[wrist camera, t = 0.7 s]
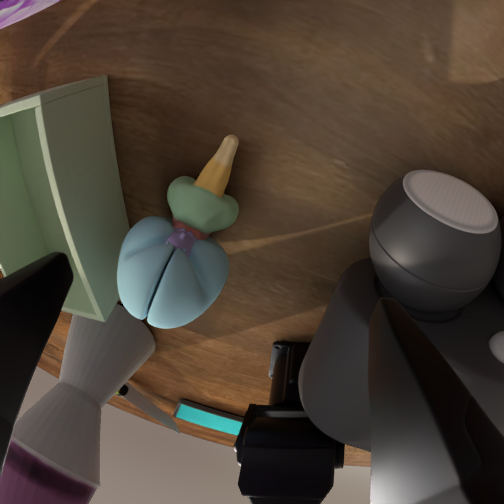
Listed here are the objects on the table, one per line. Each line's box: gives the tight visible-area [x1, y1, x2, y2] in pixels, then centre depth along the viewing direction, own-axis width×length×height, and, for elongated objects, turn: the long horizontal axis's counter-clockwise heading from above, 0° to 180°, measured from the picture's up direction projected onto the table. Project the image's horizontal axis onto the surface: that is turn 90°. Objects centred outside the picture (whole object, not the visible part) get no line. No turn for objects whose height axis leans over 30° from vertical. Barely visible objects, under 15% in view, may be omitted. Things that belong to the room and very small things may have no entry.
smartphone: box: [173, 399, 244, 436], centre depth 43 cm, size 7×1×15 cm
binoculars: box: [298, 170, 504, 452], centre depth 14 cm, size 23×16×16 cm
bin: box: [0, 75, 130, 322], centre depth 19 cm, size 16×11×7 cm
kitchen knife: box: [115, 381, 180, 433], centre depth 40 cm, size 22×1×3 cm, turn 33°
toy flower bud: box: [117, 135, 239, 328], centre depth 18 cm, size 7×9×12 cm
